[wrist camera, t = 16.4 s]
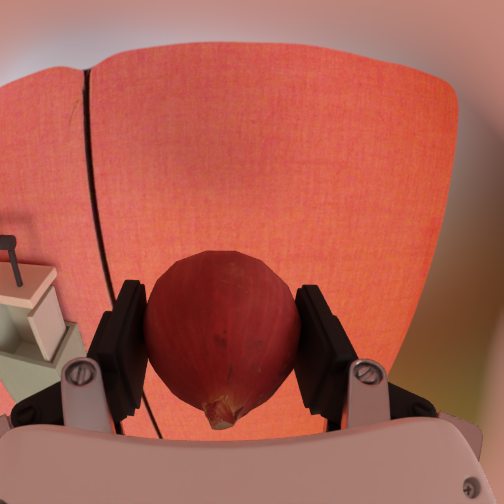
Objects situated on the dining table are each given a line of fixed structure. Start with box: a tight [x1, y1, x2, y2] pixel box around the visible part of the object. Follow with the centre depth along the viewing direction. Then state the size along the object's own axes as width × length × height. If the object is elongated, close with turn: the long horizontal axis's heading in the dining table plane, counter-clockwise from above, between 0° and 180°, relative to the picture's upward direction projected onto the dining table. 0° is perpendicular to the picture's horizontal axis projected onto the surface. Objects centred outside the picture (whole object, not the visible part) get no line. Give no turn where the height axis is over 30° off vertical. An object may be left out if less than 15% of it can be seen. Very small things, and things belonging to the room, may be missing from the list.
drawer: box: [0, 235, 67, 364], centre depth 27 cm, size 19×11×7 cm, turn 173°
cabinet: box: [0, 321, 87, 404], centre depth 33 cm, size 15×13×9 cm
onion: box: [143, 251, 302, 430], centre depth 11 cm, size 6×6×8 cm
